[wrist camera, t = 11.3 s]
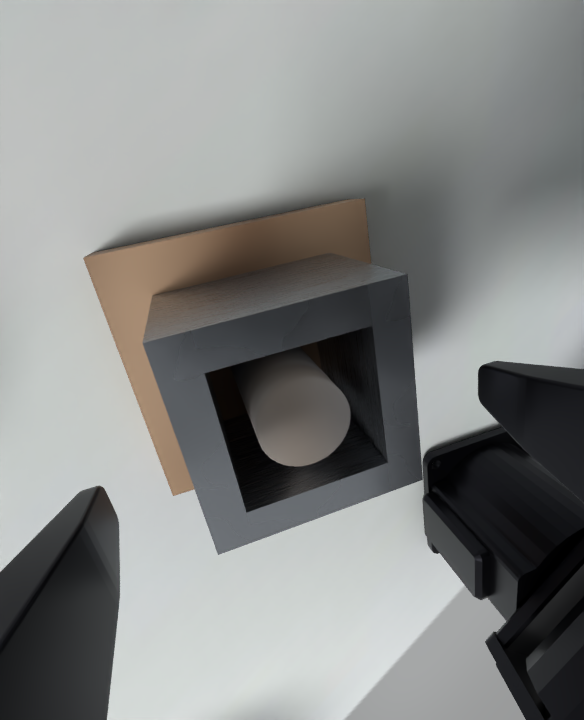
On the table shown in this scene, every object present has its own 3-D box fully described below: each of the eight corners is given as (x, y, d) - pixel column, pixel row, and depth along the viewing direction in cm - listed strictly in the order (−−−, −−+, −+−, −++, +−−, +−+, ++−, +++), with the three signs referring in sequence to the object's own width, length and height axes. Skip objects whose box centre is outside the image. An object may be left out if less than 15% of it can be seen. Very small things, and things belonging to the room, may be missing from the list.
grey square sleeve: (329, 252, 14) (407, 274, 9) (352, 403, 16) (422, 479, 12) (152, 295, 13) (142, 343, 8) (203, 451, 15) (218, 554, 11)
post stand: (346, 199, 15) (462, 193, 9) (371, 409, 18) (466, 503, 13) (92, 253, 13) (29, 288, 7) (173, 472, 17) (174, 615, 11)
